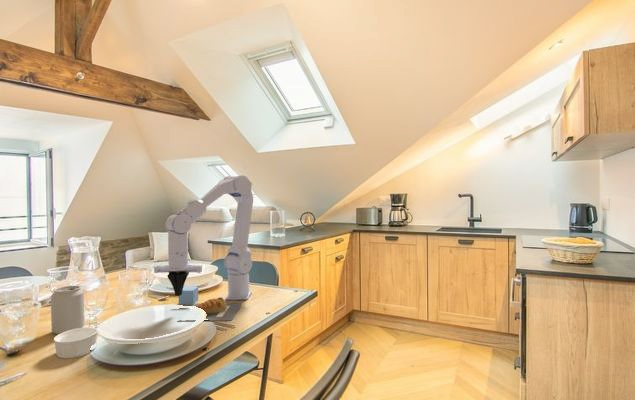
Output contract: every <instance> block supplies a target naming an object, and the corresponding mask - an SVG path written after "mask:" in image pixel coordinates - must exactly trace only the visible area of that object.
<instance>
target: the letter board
mask: <svg viewBox="0 0 635 400" xmlns="http://www.w3.org/2000/svg"><path fill="white" fill-rule="evenodd" d="M200 304H201V303H195V304H194V305H192V306H198V305H200ZM225 304H226V309H225V311H223V312H217V313H214V314H213V313H212V314H207V316H206V319H208V320H210V321H209V322H232V320H233V318H235V316H236V314H237V313H238V311H239V310H240V308H241V306H242V305H243V302H233V303H231V302H230V303H229V302H228V303H227V302H225Z"/></svg>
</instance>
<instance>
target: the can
mask: <svg viewBox="0 0 635 400" xmlns="http://www.w3.org/2000/svg"><path fill="white" fill-rule="evenodd" d="M81 288H82V287H81V286H80V285H68V286H67V285H66V286H61V287H58V288H55V289H54V290H53V293H52V294H51V295H50V316H51V317H50V319H51V320H50V321H51V324H50V325H51V332H52V333H55V335H56V336H57V335H59V334H61V333H63V332H66V331H69V330H73V329H77V328H84V327H85V294H84V293H85V292H84V291H83V290H82V289H81Z"/></svg>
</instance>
